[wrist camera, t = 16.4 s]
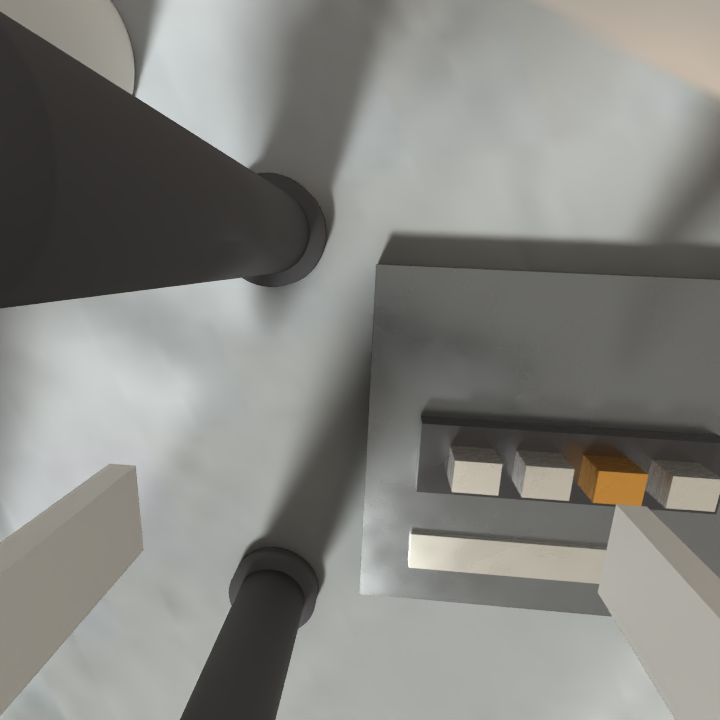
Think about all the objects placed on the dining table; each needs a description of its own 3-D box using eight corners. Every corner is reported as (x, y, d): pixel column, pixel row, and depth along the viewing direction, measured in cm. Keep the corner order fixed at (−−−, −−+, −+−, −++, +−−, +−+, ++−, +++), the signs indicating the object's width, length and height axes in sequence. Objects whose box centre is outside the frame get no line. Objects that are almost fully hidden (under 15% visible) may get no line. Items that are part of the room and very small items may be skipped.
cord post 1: (225, 283, 17) (-241, 353, 4) (222, 175, 16) (-386, -127, 3) (325, 288, 17) (131, 376, 4) (327, 178, 16) (86, -130, 3)
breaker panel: (361, 573, 20) (355, 633, 16) (377, 264, 16) (374, 265, 13) (698, 603, 19) (760, 671, 16) (788, 282, 15) (889, 288, 12)
